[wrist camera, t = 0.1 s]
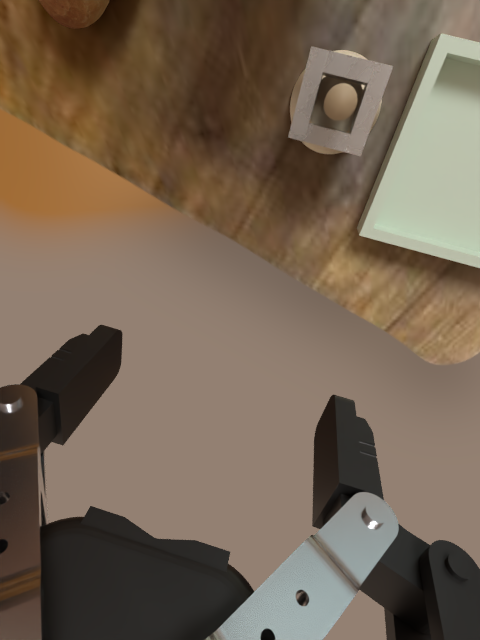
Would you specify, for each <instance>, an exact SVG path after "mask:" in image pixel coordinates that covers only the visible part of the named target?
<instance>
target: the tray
mask: <svg viewBox="0 0 480 640" xmlns="http://www.w3.org/2000/svg"><path fill="white" fill-rule="evenodd" d="M357 230H358V233H359V236H363V237H367V238H370V239H374V240H378V241H381V242H385V243H389V244H392V245H396V246H400V247H404V248H407V249H411V250H415V251H418V252H422V253H426V254H429V255H433V256H437V257H440V258H444V259H448V260H451V261H455V262H459V263H462V264H466V265H470V266H474V267H477V268H480V43H479V42H475V41H471V40H467V39H462V38H458V37H454V36H450V35H446V34H440V35H438V36H437V37H435V38H434V39H432V40H431V43H430V45H429V48H428V50H427V53H426V55H425V58H424V60H423V63H422V65H421V68H420V70H419V73H418V75H417V78H416V80H415V83H414V85H413V88H412V90H411V93H410V95H409V98H408V100H407V103H406V106H405V108H404V111H403V113H402V116H401V118H400V121H399V123H398V126H397V128H396V131H395V133H394V136H393V138H392V141H391V143H390V146H389V148H388V151H387V153H386V156H385V158H384V161H383V163H382V166H381V168H380V171H379V173H378V176H377V178H376V181H375V183H374V186H373V189H372V191H371V194H370V196H369V199H368V201H367V204H366V206H365V209H364V211H363V214H362V216H361V219H360V221H359V224H358V226H357Z"/></svg>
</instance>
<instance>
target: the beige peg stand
mask: <svg viewBox="0 0 480 640" xmlns="http://www.w3.org/2000/svg"><path fill="white" fill-rule="evenodd" d="M333 52H337V53H341V54H345V55H349V56H354V57H358V58H362V59H366V58H365V57H363V56H362V55H360V54H358V53H355V52H352V51H347V50H337V51H333ZM366 60H367V59H366ZM305 69H306V68H305ZM305 69H304V71H303V72H302V73H301V75H300V76H299V78H298V80H297V82H296V84H295V86H294V89H293V92H292V96H291V101H290V117H291V122H292V120H293V116H294V112H295V108H296V104H297V100H298V97H299V93H300V89H301V85H302V81H303V77H304V73H305ZM364 86H365V85H361V84H357V83H352V82H348V81H344V80H340V79H336V78H332V77H328V76H324V75H323V76H322V80H321V83H320V87H319V90H318V94H317V98H316V101H315V105H314V108H313V112H312V115H311V119H310V123H312V124H316V125H320V126H324V127H328V128H332V129H336V130H340V131H344V132H347V133H349V130H350V127H351V124H352V121H353V118H354V115H355V112H356V109H357V106H358V103H359V100H360V97H361V94H362V92H363V89H364ZM381 103H382V99H381V101H380V104H379V107H378V110H377V112H376V115H375V118H374V121H373V123H372V126H371V129H370V131H371V130H372V128H373V126H374V125H375V123H376V121H377V118H378V116H379V112H380V109H381ZM301 142H302V143H303V144H304V145H305V146H307V147H308V148H310V149H311V150H313V151H315V152H318V153H322V154H338V153H342V151H338V150H335V149H331V148H327V147H323V146H319V145H315V144H311V143H307V142H304V141H301Z"/></svg>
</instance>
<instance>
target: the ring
mask: <svg viewBox="0 0 480 640" xmlns="http://www.w3.org/2000/svg"><path fill="white" fill-rule="evenodd" d="M392 68H393V66H391V65H386V64H382V63H378V62H374V61H370V60H366V59H362V58H358V57H354V56H349V55H345V54H341V53H337V52H333V51H329V50H325V49H321V48H317V47H312V46H311V50H310V54H309V57H308V61H307V65H306V69H305V73H304V77H303V81H302V85H301V89H300V93H299V97H298V100H297V104H296V108H295V112H294V116H293V120H292V124H291V128H290V132H289V136H288V138H292V139H296V140H300V141H304V142H307V143H311V144H315V145H319V146H323V147H327V148H331V149H335V150H338V151H342V152H346V153H350V154H354V155H358V156H361V154H362V151H363V148H364V145H365V143H366V140H367V137H368V134H369V132H370V129H371V126H372V123H373V121H374V118H375V115H376V112H377V110H378V107H379V104H380V101H381V99H382V96H383V93H384V90H385V88H386V85H387V82H388V79H389V77H390V74H391V71H392ZM323 75H324V76H328V77H332V78H336V79H340V80H344V81H348V82H352V83H357V84H361V85H365V86H364V89H363V92H362V94H361V97H360V100H359V103H358V106H357V109H356V112H355V115H354V118H353V121H352V124H351V127H350V130H349V133H347V132H344V131H340V130H336V129H332V128H328V127H324V126H320V125H316V124H312V123H310V119H311V115H312V112H313V108H314V105H315V101H316V98H317V94H318V90H319V87H320V83H321V80H322V76H323Z"/></svg>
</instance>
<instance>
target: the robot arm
mask: <svg viewBox="0 0 480 640" xmlns="http://www.w3.org/2000/svg"><path fill="white" fill-rule="evenodd" d="M121 355H122V332H121V330H118V329H114V328H111V327H108V326H104V325H100V326H98V327H97V328H96V329H95V330H94V331H93V332H92V333H91V334H90V335H86V334H81V335H79V336H77V337H74V338H72V339H70V340H68V341H67V342H66V343H65V344H64V345H63V346H62V347H61V348H60V350H57V351H56V352H55V353H54V354H53V355H52V357H51V358H49V359H47V361H45V362H44V363H43V364H42V365H41V366H40V367H39V368H37V369H36V370H35V371H34V372H33V373H32V374H31V375H30V376H29V377H27V378H26V379H25V380H24V381H23V382H22V383H21V384H20V385H19V384H15V385H7V386H4V387H1V388H0V640H323V639H324V638H325V636H326V635H327V633H328V632H329V631H330V629H331V628H332V627H333V625H334V624H335V622H336V621H337V620H338V618H339V617H340V615H341V614H342V613H343V612H344V610H345V609H346V607H347V606H348V605H349V603H350V602H351V600H352V599H353V598H354V596H355V595H356V594H357V592H358V590H361V591H362V592H364V593H365V594H367V595H368V596H369V597H371V598H372V599H373V600H375V601H376V602H378V603H379V604H380V605H382V606H383V607H384V609H385V622H386V635H387V640H480V569H479V568H478V566H477V564H476V563H475V562H474V560H473V559H472V558H471V557H470V556H469V555H468V554H467V553H466V552H465V551H464V550H463V549H461V548H460V547H459V546H457V545H455V544H453V543H451V542H449V541H444V540H438V541H435V542H434V543H432V545H429V544H427V543H426V542H424V541H422V540H421V539H419V538H417V537H416V536H414V535H413V534H411V533H410V532H408V531H407V530H405V529H404V528H403V527H402V526H400V525H399V524H398V521H397V518H396V516H395V514H394V512H393V510H392V509H391V508H390V506H389V505H388V504H387V503H386V502H385V501H384V499H383V493H382V487H381V481H380V474H379V468H378V462H377V458H376V456H377V455H376V449H375V447H374V446H375V443H374V437H373V432H372V430H371V428H370V427H369V425H368V423H367V421H366V420H365V419H363V418H360V417H357V416H356V410H355V403H354V401H353V400H350V399H347V398H343V397H340V396H336V395H332V396H331V397H330V399H329V401H328V403H327V406H326V408H325V410H324V412H323V414H322V416H321V418H320V420H319V422H318V425H317V427H316V431H315V437H314V476H313V525H312V526H313V527H316V528H319V529H320V530H319V531H318V532H317V533H316V534H315V535H314V536H313V535H311V536H310V537H309V538H308V539H306V540H305V542H303V543H302V544H301V545H300V546H299V548H298V549H296V551H295V552H293V553H292V554H291V556H290V557H288V558H287V560H286V561H285V562H284V563H283V564H282V565H281V566H280V567H279V568H278V569H277V570H276V571H275V572H274V573H273V574H272V575H271V576H270V577H269V578H268V579H267V580H266V581H265V582H264V583H263V584H262V585H261V586H260V587H259V588H258V589H257V590H256V591H255V592H254V590H253V589H252V587H251V586H250V584H249V583H248V582H247V580H246V579H245V578H244V577H243V576H242V575H241V574H240V573H239V572H238V571H237V570H236V569H235V568H234V567H232V566H231V565H229V564H228V560H229V555H230V552H229V551H226V550H223V549H220V548H217V547H214V546H211V545H208V544H205V543H201V542H199V541H195V540H171V539H169V540H168V539H156V538H154V537H152V536H151V535H149V534H148V533H146V532H145V531H144V530H142V529H141V528H139V527H138V526H136V525H135V524H134V523H132V522H131V521H129V520H128V519H126V518H125V517H123V516H119V515H116V514H113V513H110V512H107V511H104V510H101V509H98V508H95V507H92V506H90V508H89V510H88V511H87V513H86V515H85V517H72V518H66V519H61V520H58V521H54V522H51V523H49V521H48V510H47V494H46V472H45V453H44V450H45V449H46V447H47V446H48V445H49V444H50V443H51V442H54V443H57V444H61V445H64V443H65V442H66V441H67V439H68V438H69V437H70V436H71V434H72V433H73V432H74V431H75V429H76V428H77V427H78V425H79V424H80V423H81V422H82V420H83V419H84V418H85V416H86V415H87V414H88V412H89V411H90V410H91V409H92V407H93V406H94V405H95V403H96V402H97V401H98V400H99V398H100V397H101V396H102V394H103V393H104V392H105V390H106V389H107V388H108V387H109V385H110V384H111V383H112V381H113V380H114V379H115V377H116V376H117V374H118V372H119V369H120V366H121Z"/></svg>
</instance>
